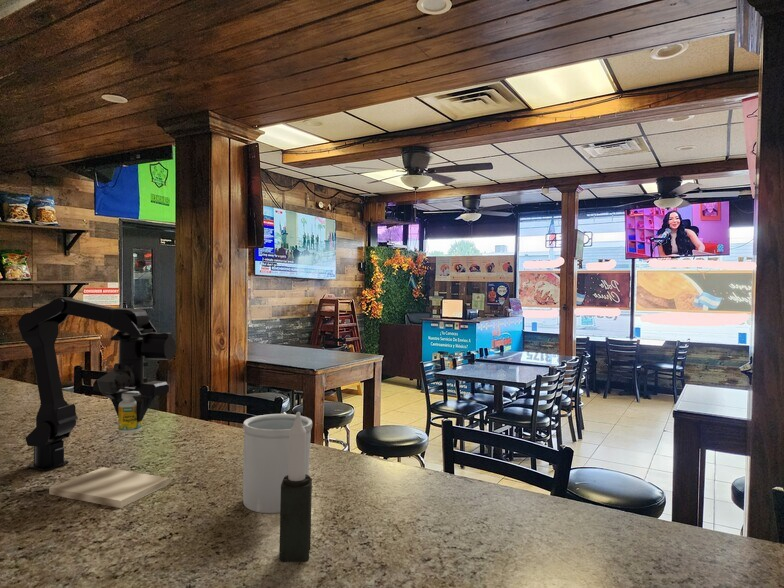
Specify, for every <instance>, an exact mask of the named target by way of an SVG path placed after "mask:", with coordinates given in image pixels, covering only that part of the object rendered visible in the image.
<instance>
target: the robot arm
mask: <svg viewBox="0 0 784 588" xmlns="http://www.w3.org/2000/svg"><path fill="white" fill-rule="evenodd" d="M69 316H74V317H78V318H83V319H87V320H90V321H91V320H92V321H96V322H101V323H103V324H106V325H107V326H109V327H110V328H112V329H114V330H117V332H116V333H115V334H114V335H113V336H111V337H110V338H109V339H110V341H111V342H112V341H117V342H118V362H115V363H114V365H113V370H112V371H110V372H107V373H106V374H104V375H103V376H101V377H99V378H98V379H95V381H94V382H92V392H98V393H99V392H100V393H102V396H106V398H109V399H110V400H111V403H112V405H113V407H114V409H115V412H116V415H117V417H118V414H119V403H120V402H121V401H123V399H122V398H121V397H122V393H123V392H129V391H138V392H139V395H136V396H133V398H134V399H135V400H136V403H137V422H140V421H142V422H143V420H144V417H145V416H146V413H147V411H148V409H149V408H150V405H151V404H152V402H153V400H154V399H155V398H156V396H160V395H164V394H168V393H170V384H169V383H168V382H167V381H162V380H153V381H148V377H145V367H148V365H149V362H148V361H145V359H146V360H160V361H162V360H164V361H165V360H166V361H171V360H172V359H174V357H175V355H176V353H177V352H176V351H177V344H176V342H175V339H174V338H173V334H172V332H158V331H157V329H156V328H155V326H154V325H153V323H152V322H151V320H150V319H149V314H148V313H147V311H146V310H144V309H142V308H131V307H130V308H129V307H128V308H127V307H126V308H125V307H124V308H123V307H121V308H119V307H111V306H107V305H106V306H105V305H102V304H97V303H92V302H88V301H83V300H81V299H79V300H78V299H75V298H73V297H68V296H66V297H56V298H54V299H52V300H51V301H50V302H48V303H47V304H44V305H42V306H40V307H37V308H35V309H33V310H31V311H30V312H26V313H23V315H21V316H20V318H19V319H18V320H17V327H18V330H19V333H20V336H21V339H22V340H23V342H25V344H26V345H27V346H28V347H29V348H30V350H31V356H32V357H31V358H32V362H33V367H34V373H35V378H36V384H37V389H38V395H39V401H40V402H39V403H40V406H39V409H38V411H37V414H36V416H35V428H34V429H33V430H31V432H30V433H29V434H27V436H25V443H26V446H27V447H33V463H32V464H28V465H27V468H28V469H32V470H39V471H46V472H47V471H49V470H52V469H55V468H57V467H61V466H64V465H66V464H69V463H70V461H69V460H65V447H64V442H65V441H64V439H68V438H70V436H71V433H72V431H73V430H74V428H75V427H76V425H77V420H78V418H79V417H78V415H77V413H76V404H75V403H70V404H69V403H68V402H67V401H66V400H65V398H64V393H63V387H62V382H61V376H60V371H59V370H60V369H59V365H58V364H59V363H58V359H57V353H56V347H55V344H56V341H57V339H58V336H59V334H60V333H59V332H60V331H59V326H60V325H61V324H63V323H64V322H65V321H66V320H67V319H68V318H69Z"/></svg>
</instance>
